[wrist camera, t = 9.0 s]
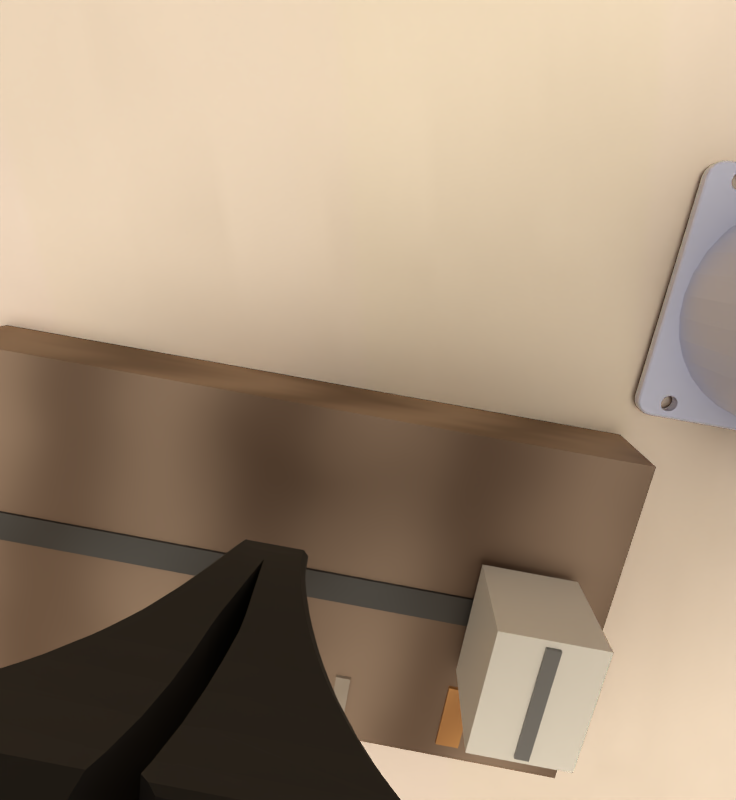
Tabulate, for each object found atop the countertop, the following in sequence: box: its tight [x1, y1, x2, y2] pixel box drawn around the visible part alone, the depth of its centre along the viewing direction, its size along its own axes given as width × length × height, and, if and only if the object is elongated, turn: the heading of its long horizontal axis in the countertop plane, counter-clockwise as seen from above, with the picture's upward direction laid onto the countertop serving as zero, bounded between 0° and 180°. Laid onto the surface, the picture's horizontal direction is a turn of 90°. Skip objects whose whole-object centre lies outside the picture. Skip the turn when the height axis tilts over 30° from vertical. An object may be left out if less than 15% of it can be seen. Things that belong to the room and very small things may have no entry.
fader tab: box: [456, 564, 613, 773], centre depth 17 cm, size 3×4×3 cm
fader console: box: [0, 325, 656, 778], centre depth 20 cm, size 22×12×3 cm, turn 80°
